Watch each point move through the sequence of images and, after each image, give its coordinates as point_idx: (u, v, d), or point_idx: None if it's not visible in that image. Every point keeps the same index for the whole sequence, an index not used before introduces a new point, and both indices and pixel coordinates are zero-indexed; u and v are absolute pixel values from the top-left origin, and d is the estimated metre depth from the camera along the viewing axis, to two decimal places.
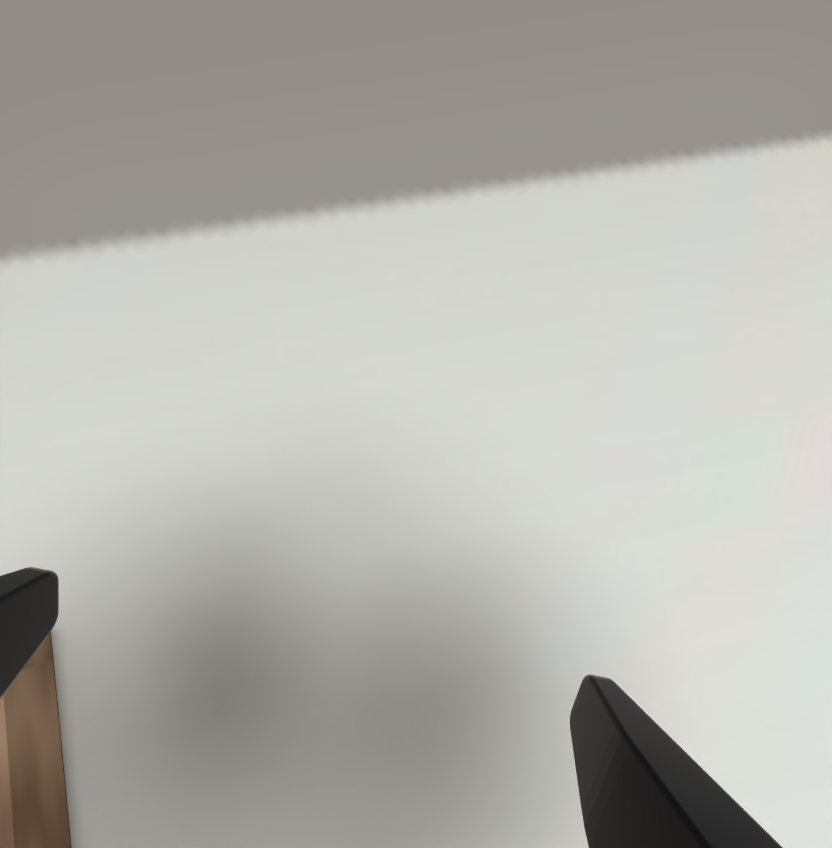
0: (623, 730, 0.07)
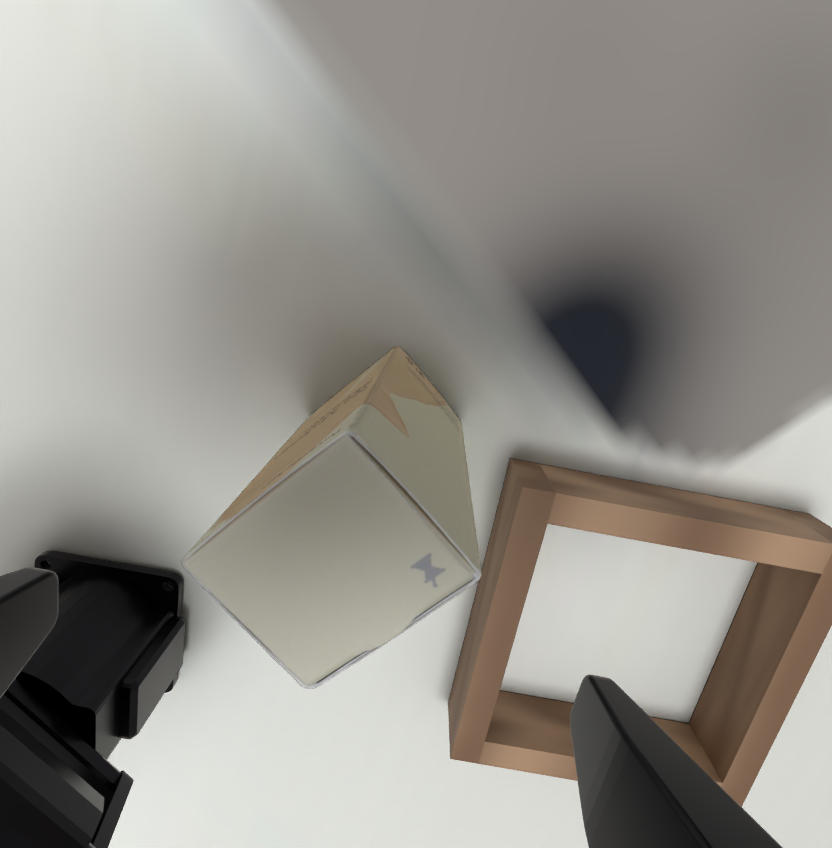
0: (623, 730, 0.07)
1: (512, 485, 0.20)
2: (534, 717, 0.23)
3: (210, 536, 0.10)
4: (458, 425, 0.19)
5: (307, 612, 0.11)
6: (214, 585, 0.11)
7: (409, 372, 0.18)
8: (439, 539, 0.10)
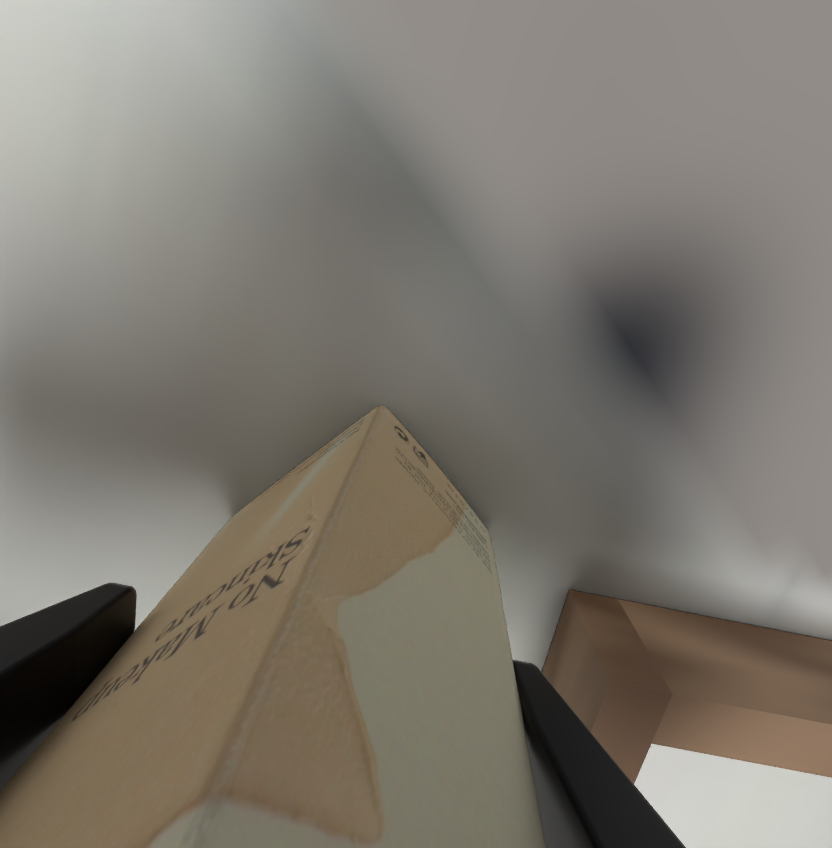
0: (533, 713, 0.07)
1: (579, 652, 0.11)
2: None
3: None
4: (488, 551, 0.11)
5: None
6: None
7: (400, 469, 0.09)
8: None
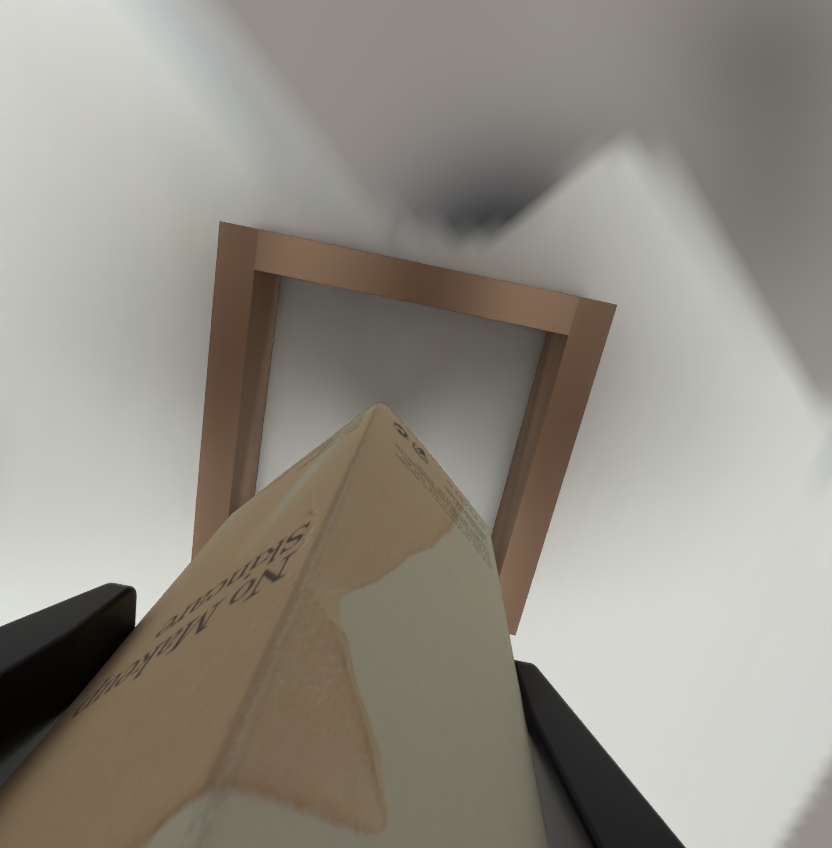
0: (533, 713, 0.07)
1: None
2: None
3: None
4: (487, 547, 0.11)
5: None
6: None
7: (400, 465, 0.09)
8: None
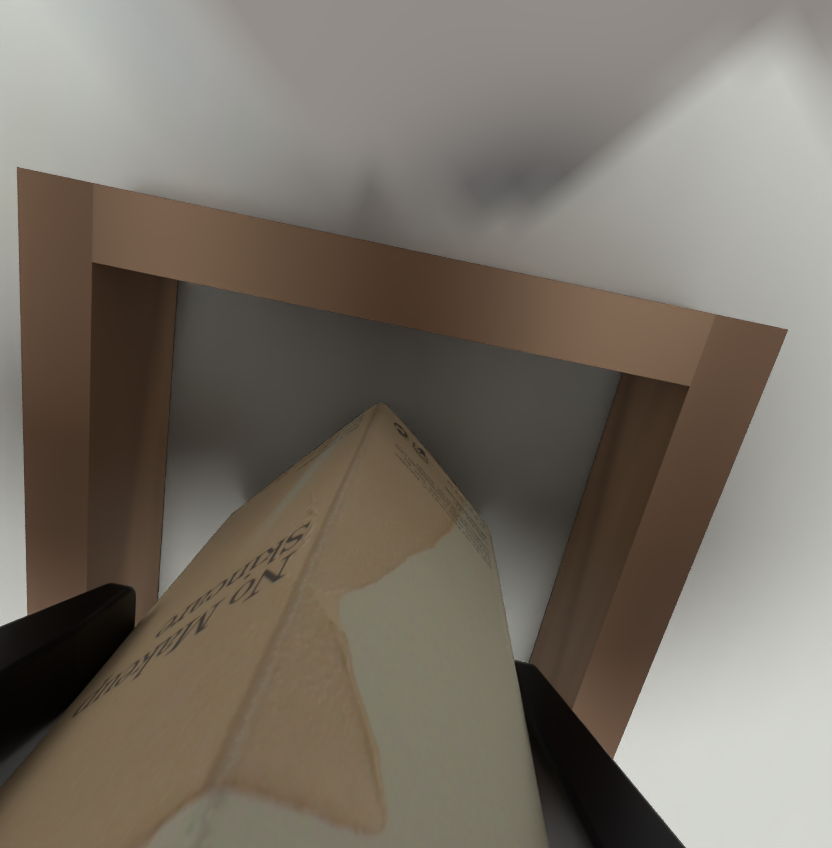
0: (533, 713, 0.07)
1: None
2: None
3: None
4: (487, 547, 0.11)
5: None
6: None
7: (400, 465, 0.09)
8: None
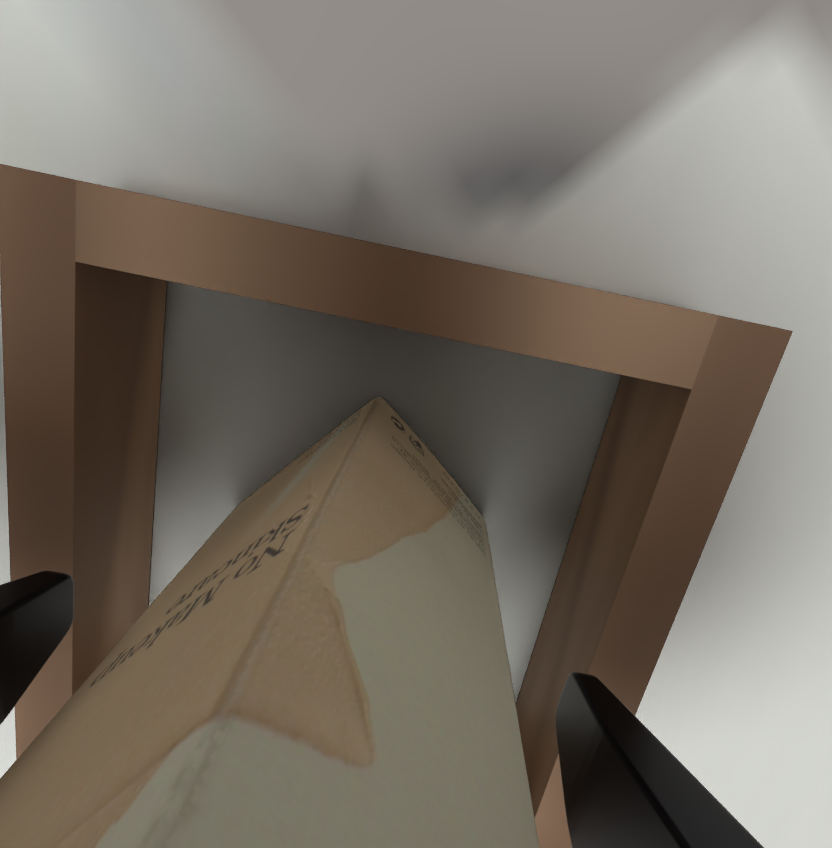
0: (605, 726, 0.07)
1: None
2: None
3: None
4: (482, 535, 0.11)
5: None
6: None
7: (396, 455, 0.10)
8: None
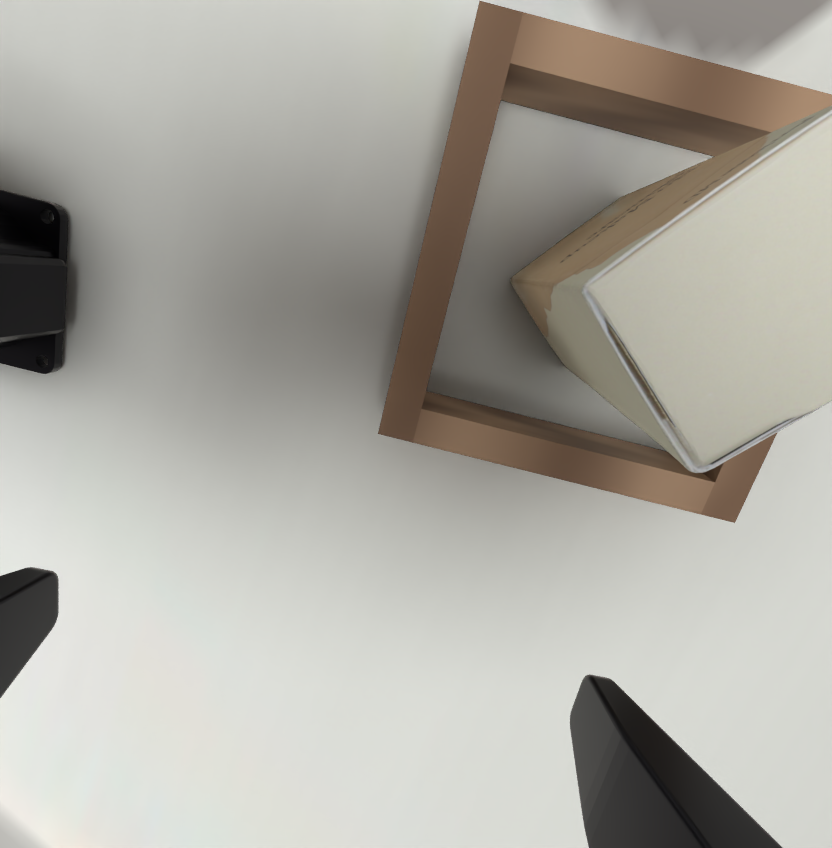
0: (623, 730, 0.07)
1: None
2: (488, 413, 0.19)
3: (633, 249, 0.08)
4: None
5: (737, 357, 0.09)
6: (624, 317, 0.08)
7: None
8: None
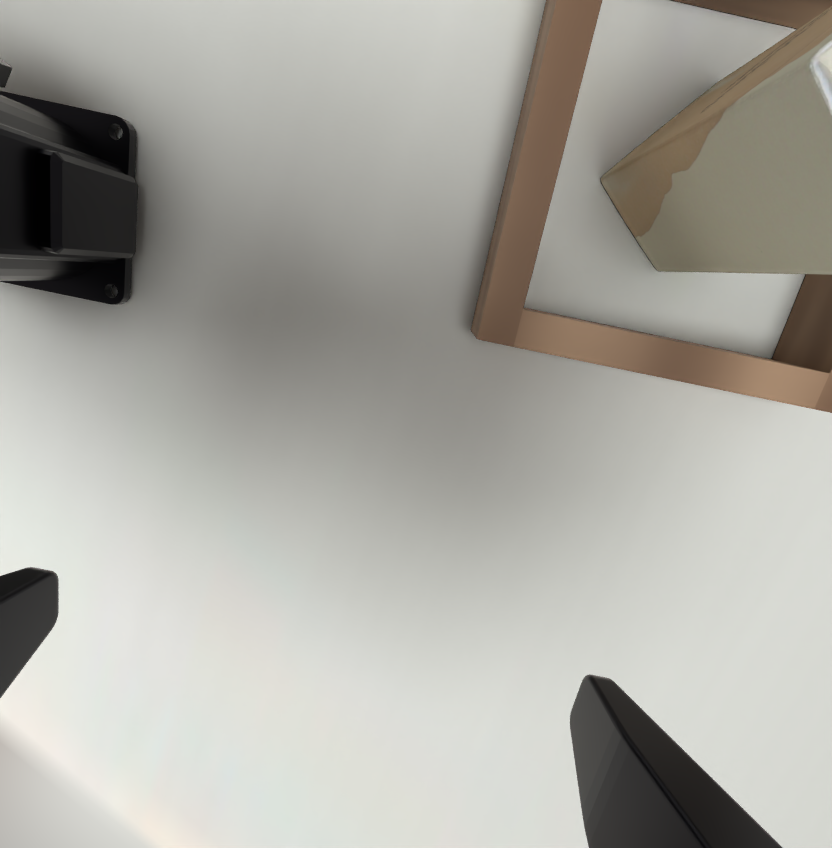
0: (623, 730, 0.07)
1: None
2: (583, 320, 0.18)
3: None
4: None
5: None
6: None
7: None
8: None
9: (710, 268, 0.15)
